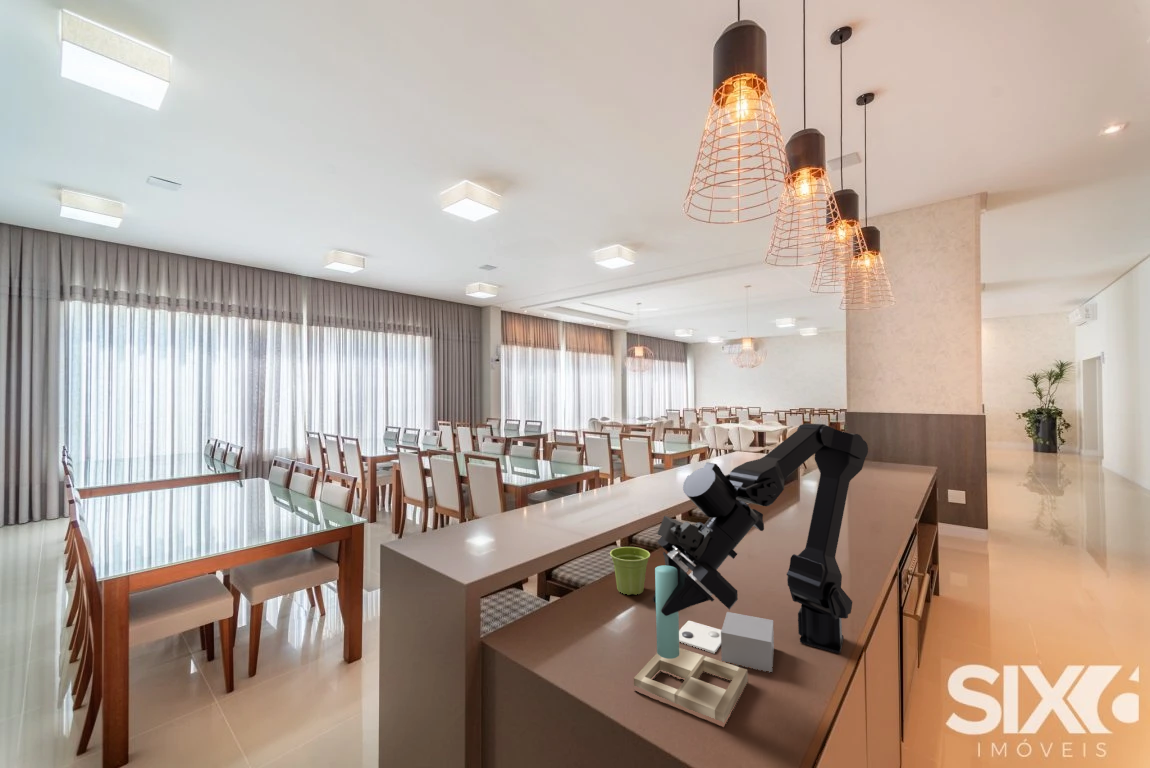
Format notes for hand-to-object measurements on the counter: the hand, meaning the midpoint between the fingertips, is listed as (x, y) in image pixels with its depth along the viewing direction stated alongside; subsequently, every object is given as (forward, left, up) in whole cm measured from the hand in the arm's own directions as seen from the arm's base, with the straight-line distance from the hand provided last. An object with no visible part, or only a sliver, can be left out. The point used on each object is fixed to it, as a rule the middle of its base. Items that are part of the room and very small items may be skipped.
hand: (658, 607), depth 72 cm
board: (-4, -3, -12) cm, 13 cm away
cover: (-9, -17, -12) cm, 23 cm away
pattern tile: (0, -18, -12) cm, 22 cm away
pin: (-1, -1, -7) cm, 7 cm away
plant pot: (+21, -29, -13) cm, 38 cm away
